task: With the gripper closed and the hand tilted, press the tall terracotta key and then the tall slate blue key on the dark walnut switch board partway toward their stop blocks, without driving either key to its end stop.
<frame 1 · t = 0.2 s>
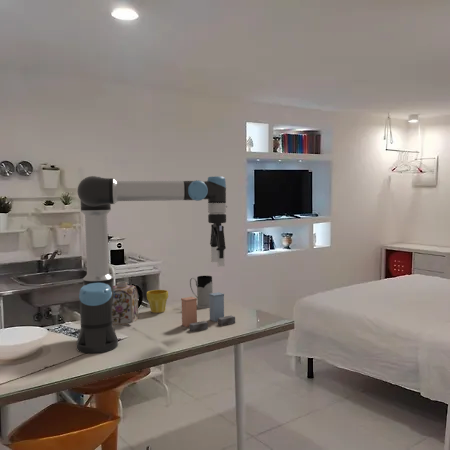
hand: (217, 264, 200), 28 cm above the table, tool pointing down, fingers open, 13 cm apart
plant pot: (157, 311, 232), on the table
switch board: (206, 326, 205), on the table
grey metal pitcher: (201, 305, 242), on the table
decorative jar: (123, 322, 215), on the table
terracotta key: (189, 311, 202), point 7 cm above the table, slide at 0.0 cm
slate blue key: (216, 306, 210), point 7 cm above the table, slide at 0.0 cm
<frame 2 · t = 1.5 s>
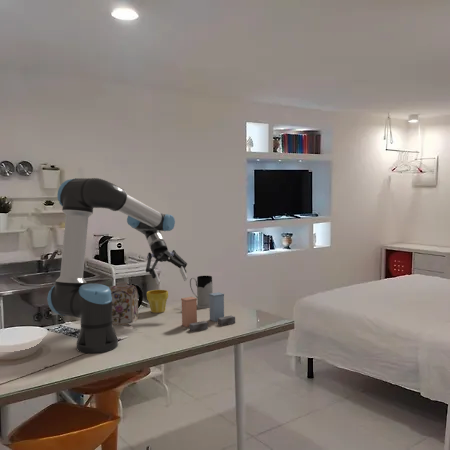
hand: (172, 281, 214), 18 cm above the table, tool tilted 45°, fingers open, 13 cm apart
nothing on the table moved.
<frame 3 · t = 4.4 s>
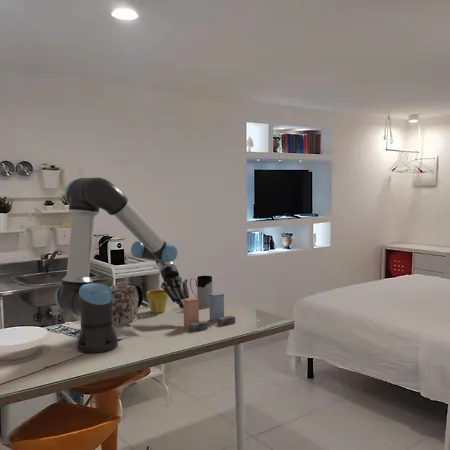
hand: (187, 313, 204), 6 cm above the table, tool tilted 45°, fingers closed
terracotta key: (191, 312, 201), point 7 cm above the table, slide at 1.5 cm, touching gripper
everything else where it was.
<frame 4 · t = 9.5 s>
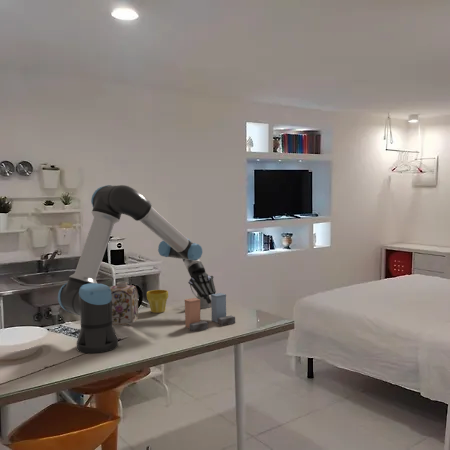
hand: (215, 308, 212), 6 cm above the table, tool tilted 45°, fingers closed
terracotta key: (192, 313, 200), point 7 cm above the table, slide at 2.8 cm
slate blue key: (218, 307, 209), point 7 cm above the table, slide at 1.6 cm, touching gripper
everything else where it was.
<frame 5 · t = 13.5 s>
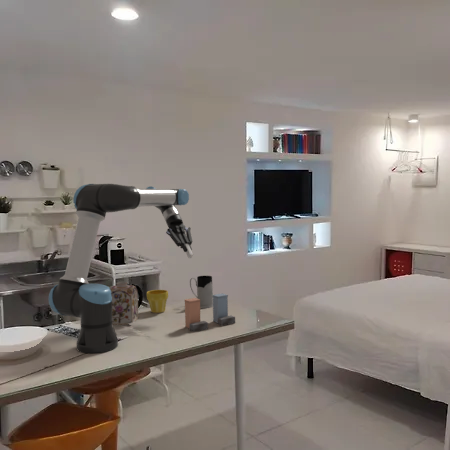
hand: (190, 256, 221), 28 cm above the table, tool tilted 45°, fingers closed
slate blue key: (220, 308, 208), point 7 cm above the table, slide at 2.9 cm
everything else where it was.
at the end: terracotta key slide at 2.8 cm; slate blue key slide at 2.9 cm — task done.
